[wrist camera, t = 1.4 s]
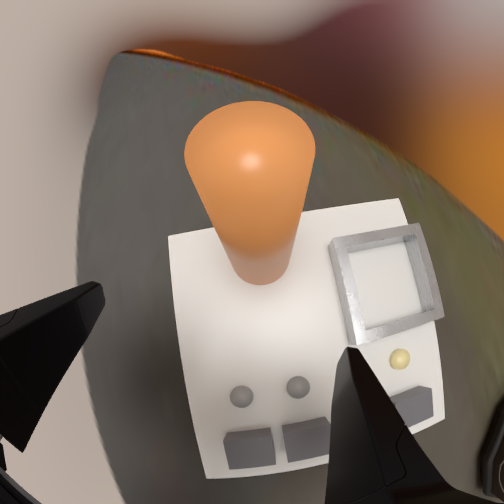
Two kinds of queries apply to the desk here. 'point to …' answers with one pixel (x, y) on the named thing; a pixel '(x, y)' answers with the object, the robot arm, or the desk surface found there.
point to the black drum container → (494, 458)
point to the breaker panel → (294, 342)
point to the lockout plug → (252, 182)
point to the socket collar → (348, 289)
